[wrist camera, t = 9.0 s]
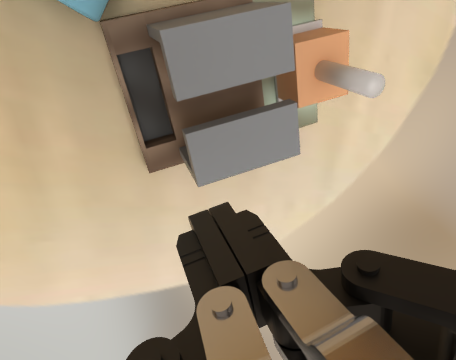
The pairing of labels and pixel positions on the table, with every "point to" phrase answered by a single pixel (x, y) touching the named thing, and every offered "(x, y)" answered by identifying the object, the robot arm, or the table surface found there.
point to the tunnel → (232, 85)
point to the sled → (323, 68)
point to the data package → (87, 7)
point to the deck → (161, 89)
